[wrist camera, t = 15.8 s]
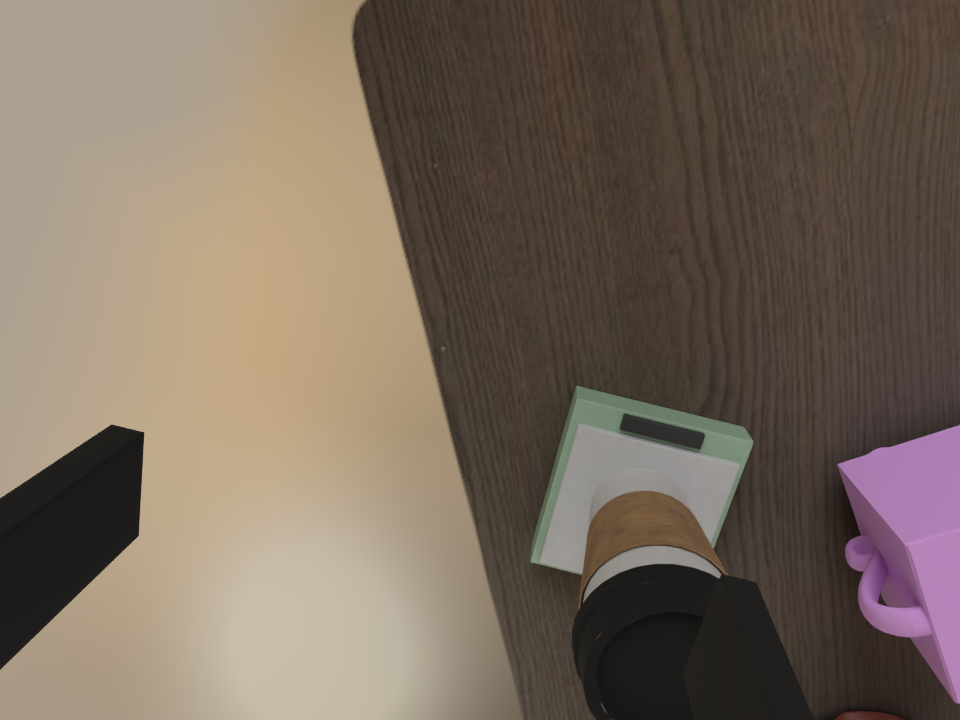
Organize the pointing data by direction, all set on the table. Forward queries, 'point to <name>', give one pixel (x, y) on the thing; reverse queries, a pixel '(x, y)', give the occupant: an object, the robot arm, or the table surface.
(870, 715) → the flower pot
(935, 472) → the teapot
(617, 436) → the kitchen scale
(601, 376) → the table surface
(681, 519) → the coffee cup
